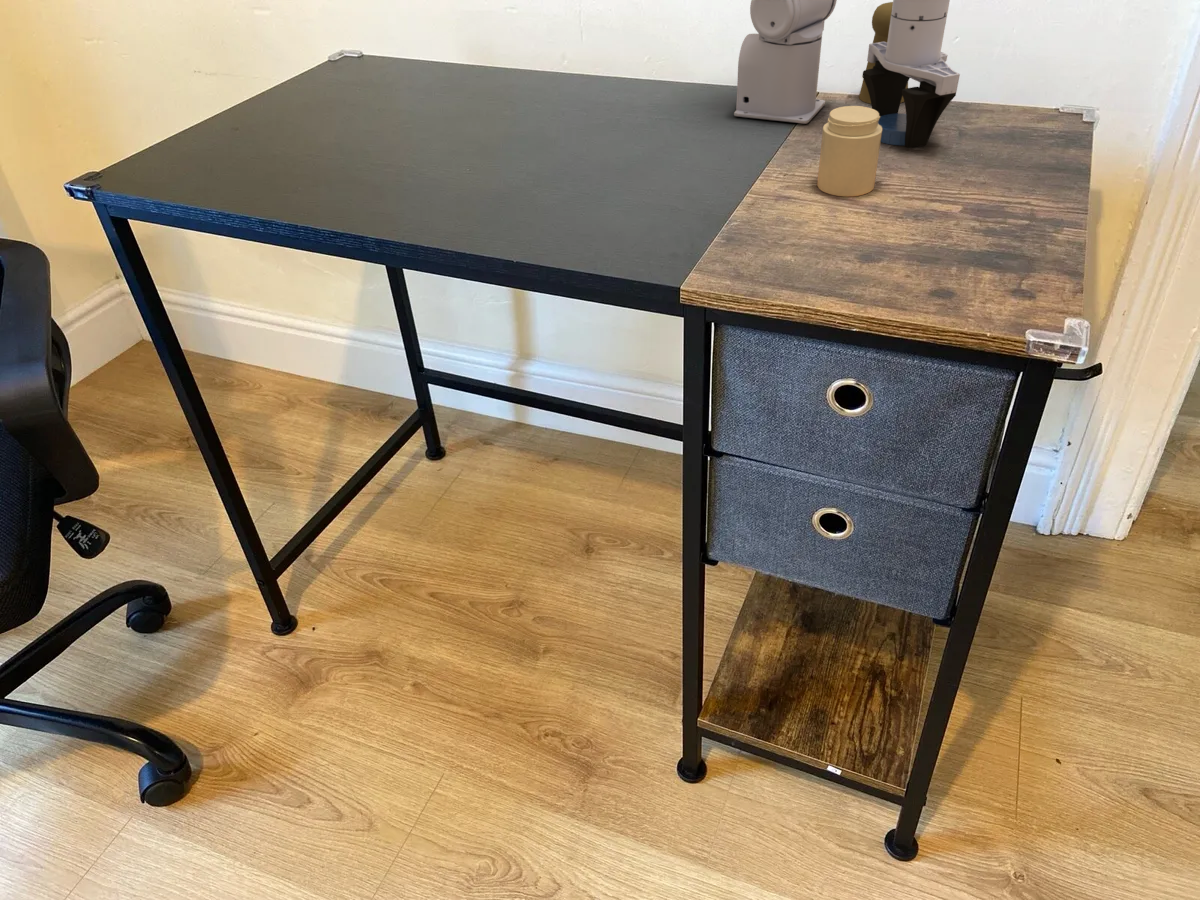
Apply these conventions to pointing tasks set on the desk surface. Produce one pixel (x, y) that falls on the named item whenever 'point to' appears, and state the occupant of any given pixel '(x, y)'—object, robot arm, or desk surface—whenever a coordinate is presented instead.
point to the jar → (849, 151)
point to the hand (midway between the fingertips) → (899, 141)
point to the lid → (893, 128)
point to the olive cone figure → (878, 40)
